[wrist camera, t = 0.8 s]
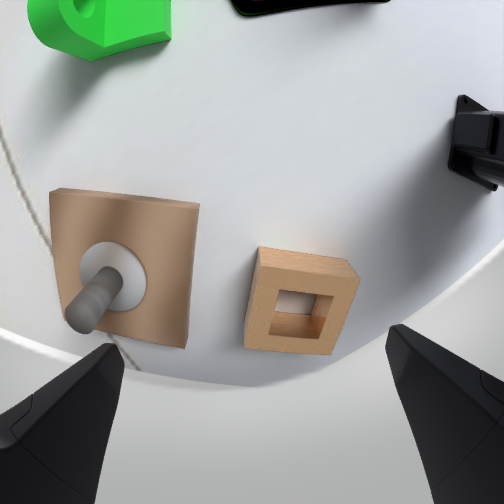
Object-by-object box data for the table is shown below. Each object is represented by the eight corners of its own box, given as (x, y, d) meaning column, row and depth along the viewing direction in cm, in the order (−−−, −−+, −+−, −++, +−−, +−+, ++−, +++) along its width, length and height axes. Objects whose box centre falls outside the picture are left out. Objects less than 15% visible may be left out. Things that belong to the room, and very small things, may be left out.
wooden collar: (346, 259, 20) (360, 279, 17) (322, 330, 23) (330, 355, 20) (259, 246, 20) (260, 265, 17) (244, 322, 22) (243, 347, 19)
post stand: (199, 203, 18) (174, 242, 12) (187, 336, 23) (171, 402, 16) (60, 187, 18) (-2, 214, 11) (71, 311, 22) (33, 360, 15)
